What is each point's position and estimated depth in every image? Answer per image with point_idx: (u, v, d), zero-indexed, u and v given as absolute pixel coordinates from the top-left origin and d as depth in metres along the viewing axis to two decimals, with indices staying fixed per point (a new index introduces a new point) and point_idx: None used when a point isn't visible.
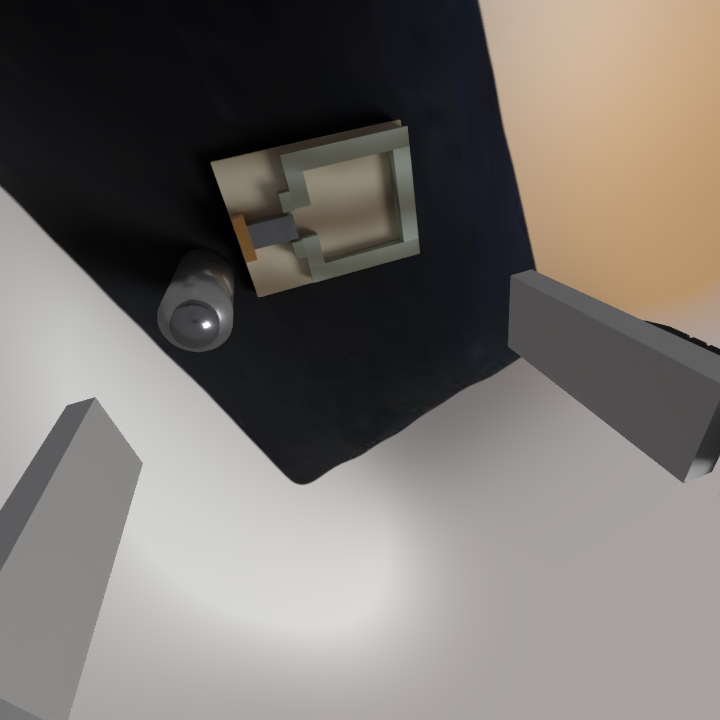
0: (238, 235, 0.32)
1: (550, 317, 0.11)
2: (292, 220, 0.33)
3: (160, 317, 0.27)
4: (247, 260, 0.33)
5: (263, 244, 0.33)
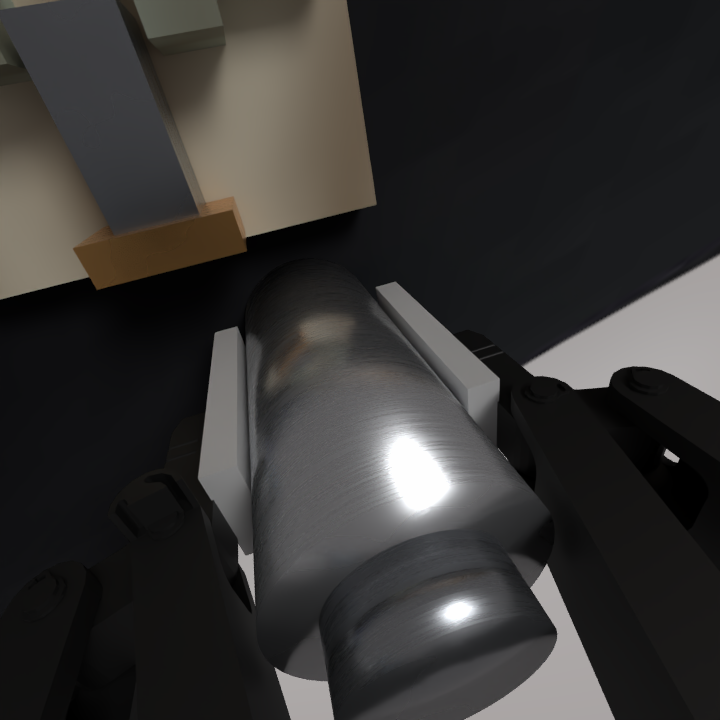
0: (148, 269, 0.09)
1: (397, 326, 0.12)
2: (27, 17, 0.07)
3: None
4: (236, 247, 0.09)
5: (173, 177, 0.09)
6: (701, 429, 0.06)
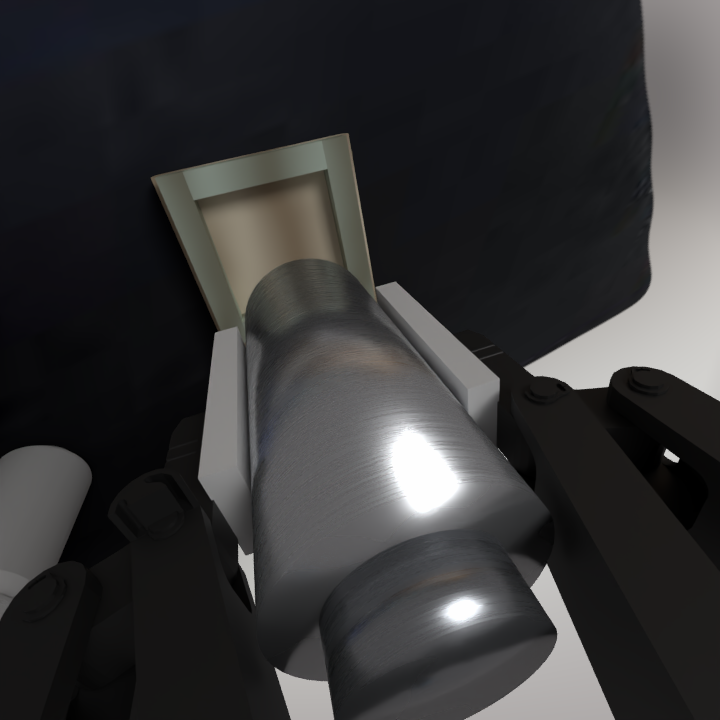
0: None
1: (397, 326, 0.12)
2: None
3: None
4: None
5: None
6: (701, 429, 0.06)
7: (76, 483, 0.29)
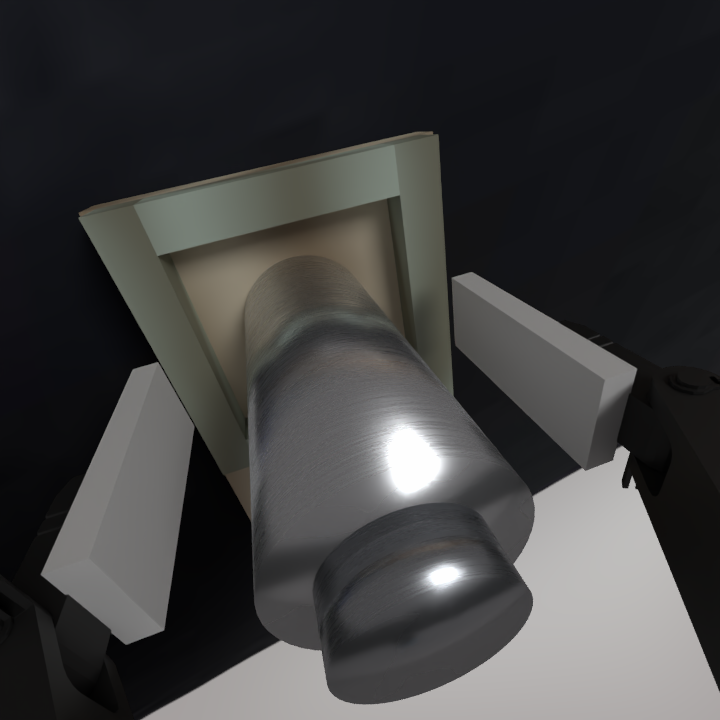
0: None
1: (482, 317, 0.12)
2: None
3: None
4: None
5: None
6: None
7: None
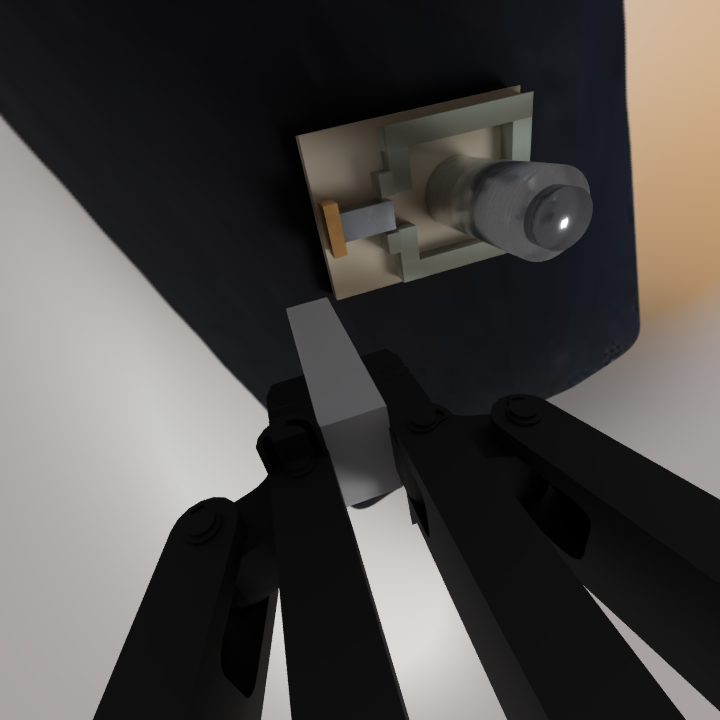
0: (329, 225, 0.26)
1: None
2: (391, 207, 0.27)
3: (516, 207, 0.20)
4: (335, 255, 0.27)
5: (355, 236, 0.27)
6: (575, 459, 0.06)
7: None
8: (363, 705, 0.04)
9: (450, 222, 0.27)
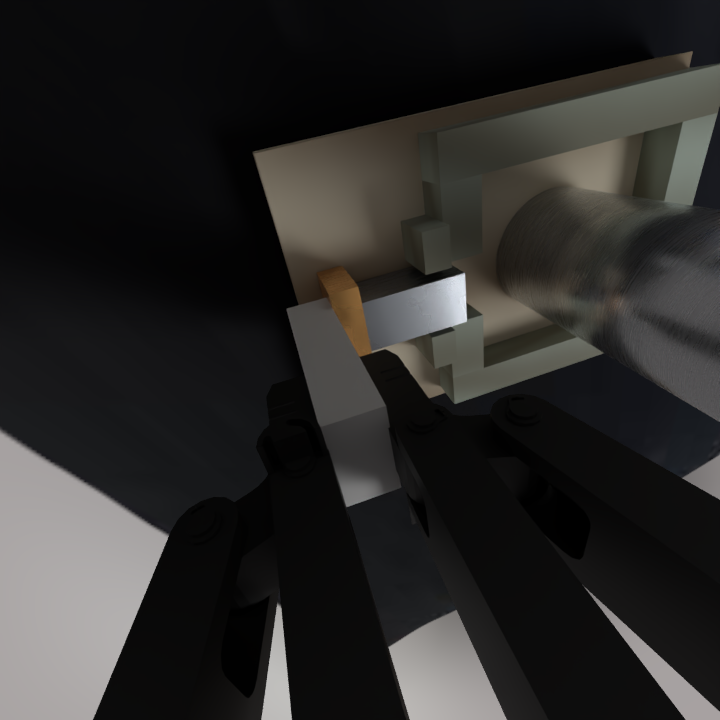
0: None
1: None
2: (461, 285, 0.14)
3: None
4: None
5: (390, 339, 0.14)
6: (575, 459, 0.06)
7: None
8: (364, 705, 0.04)
9: (557, 319, 0.14)
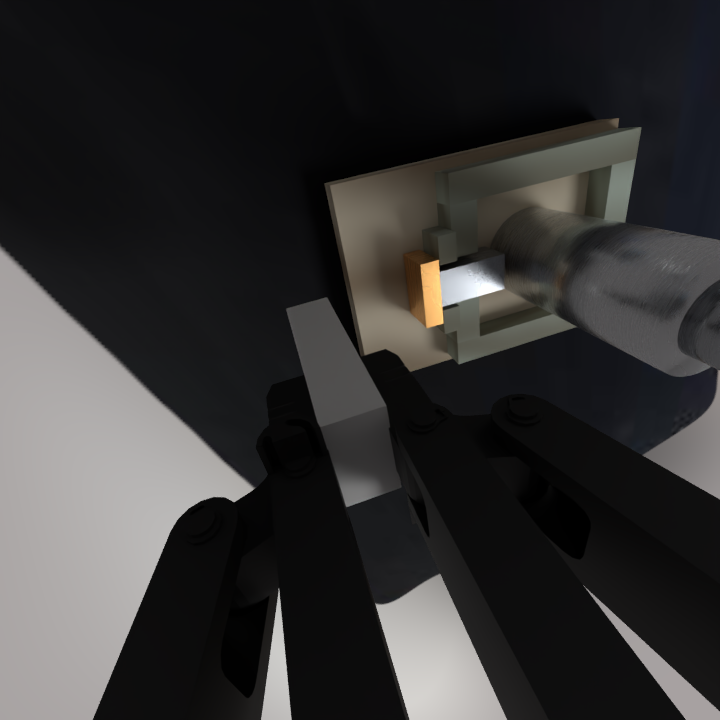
0: (425, 287, 0.20)
1: None
2: (502, 262, 0.21)
3: (674, 308, 0.13)
4: (428, 324, 0.21)
5: (453, 299, 0.21)
6: (575, 458, 0.06)
7: None
8: (363, 706, 0.04)
9: (529, 296, 0.20)
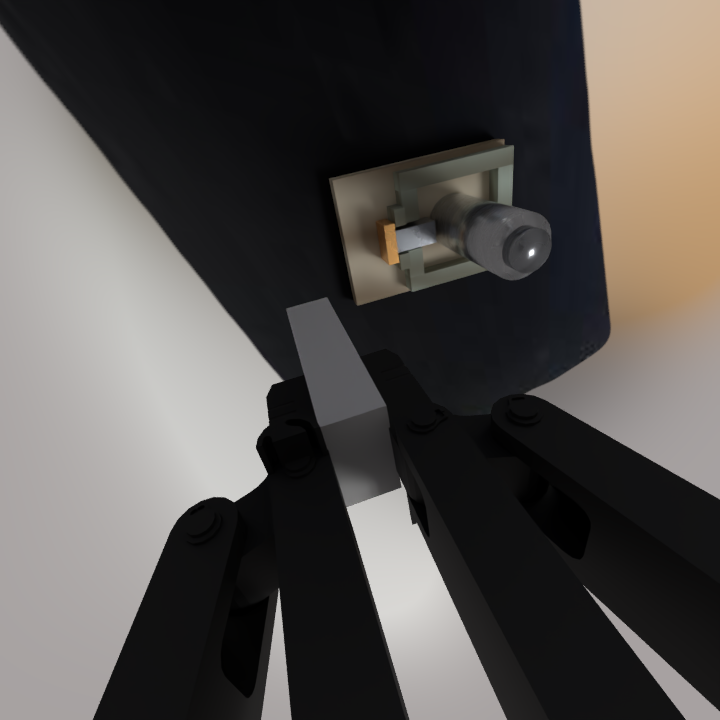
0: (387, 239, 0.34)
1: None
2: (433, 225, 0.35)
3: (496, 241, 0.28)
4: (390, 262, 0.35)
5: (405, 248, 0.35)
6: (575, 459, 0.06)
7: None
8: (363, 705, 0.04)
9: (449, 246, 0.35)
